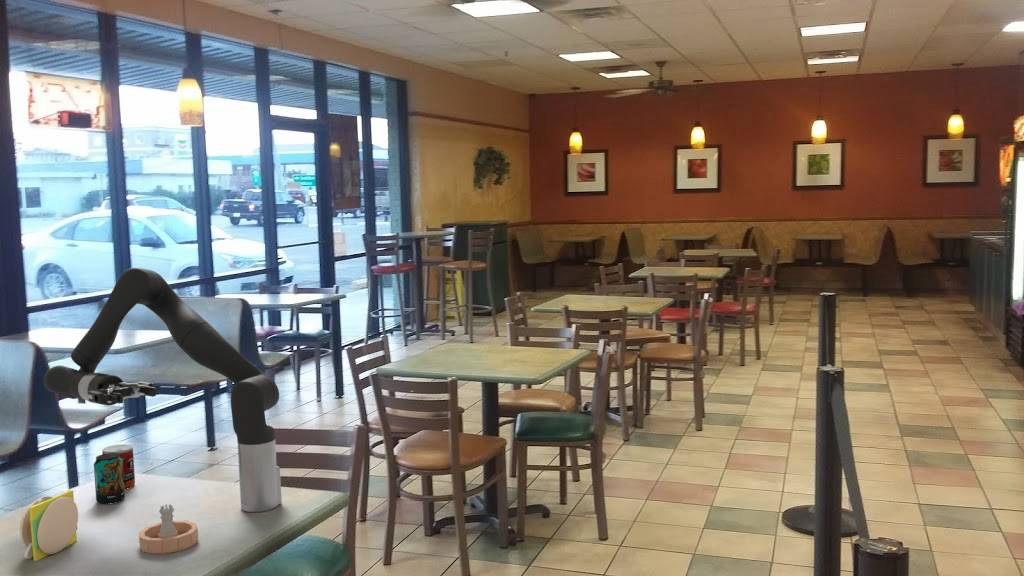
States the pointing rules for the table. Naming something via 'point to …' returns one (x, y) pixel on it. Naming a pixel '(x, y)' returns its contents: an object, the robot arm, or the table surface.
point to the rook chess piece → (167, 522)
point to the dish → (171, 544)
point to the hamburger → (49, 525)
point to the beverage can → (109, 478)
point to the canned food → (124, 461)
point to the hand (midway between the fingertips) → (138, 395)
